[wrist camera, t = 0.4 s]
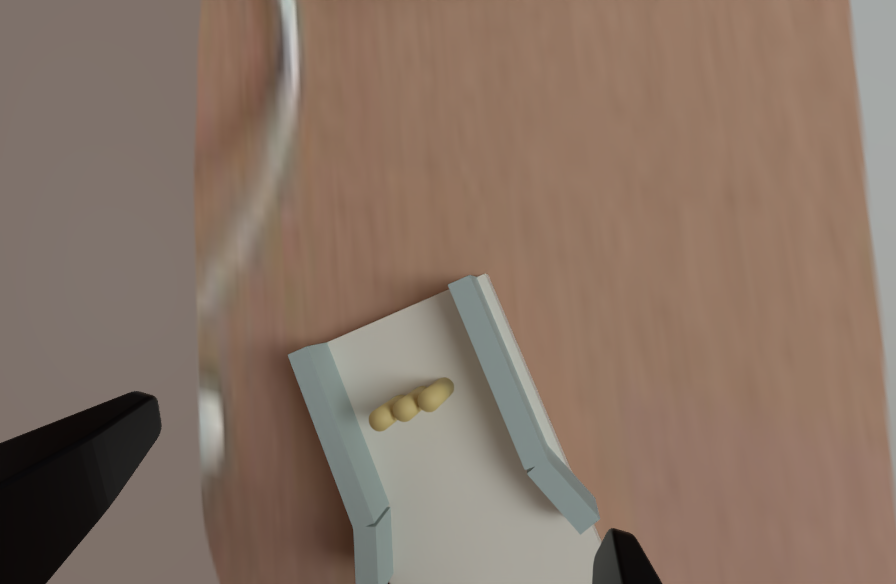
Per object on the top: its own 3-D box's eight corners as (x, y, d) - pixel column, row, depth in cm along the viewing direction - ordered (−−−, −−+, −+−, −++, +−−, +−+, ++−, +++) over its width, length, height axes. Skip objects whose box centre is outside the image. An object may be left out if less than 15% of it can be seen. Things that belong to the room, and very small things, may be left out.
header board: (662, 649, 21) (689, 733, 17) (438, 708, 23) (415, 797, 19) (499, 269, 23) (488, 263, 19) (304, 354, 25) (255, 365, 21)
